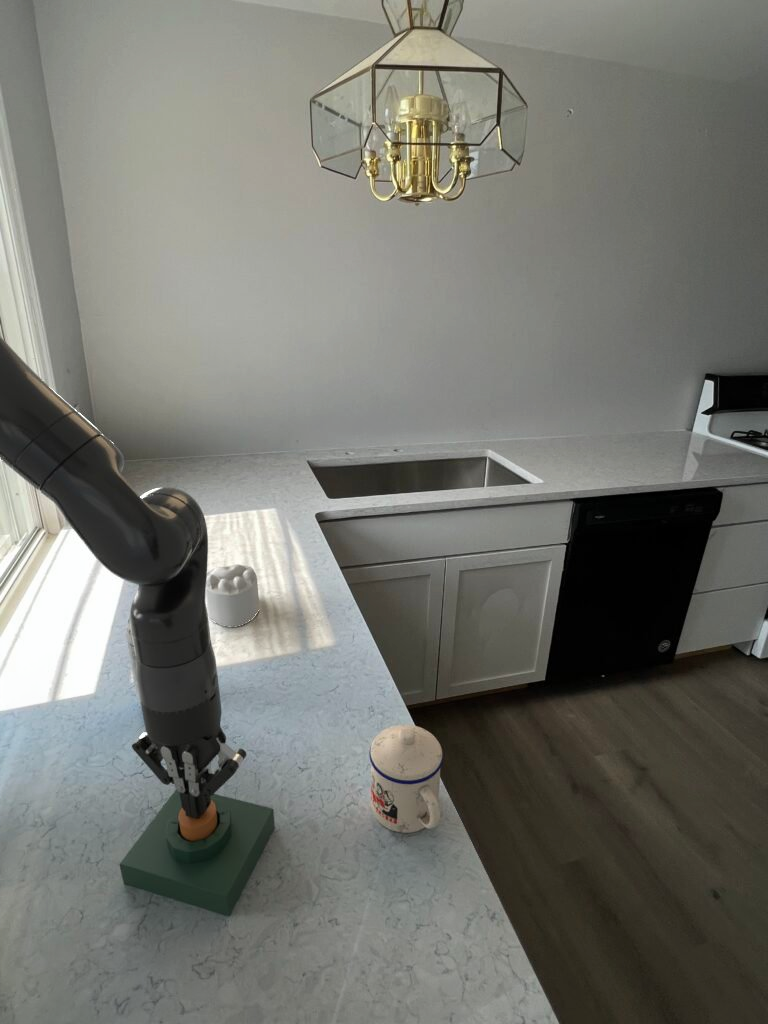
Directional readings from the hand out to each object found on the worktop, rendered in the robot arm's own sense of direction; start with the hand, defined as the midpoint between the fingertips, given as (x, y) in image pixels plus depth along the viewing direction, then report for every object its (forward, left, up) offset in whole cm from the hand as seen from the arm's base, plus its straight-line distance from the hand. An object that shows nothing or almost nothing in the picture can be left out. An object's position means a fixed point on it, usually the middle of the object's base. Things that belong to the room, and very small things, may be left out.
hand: (197, 811), depth 62 cm
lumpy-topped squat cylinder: (-24, +50, -7) cm, 56 cm away
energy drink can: (-22, +22, -7) cm, 32 cm away
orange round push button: (0, 0, -2) cm, 2 cm away
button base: (0, 0, -7) cm, 7 cm away
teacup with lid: (+22, +12, -7) cm, 26 cm away
